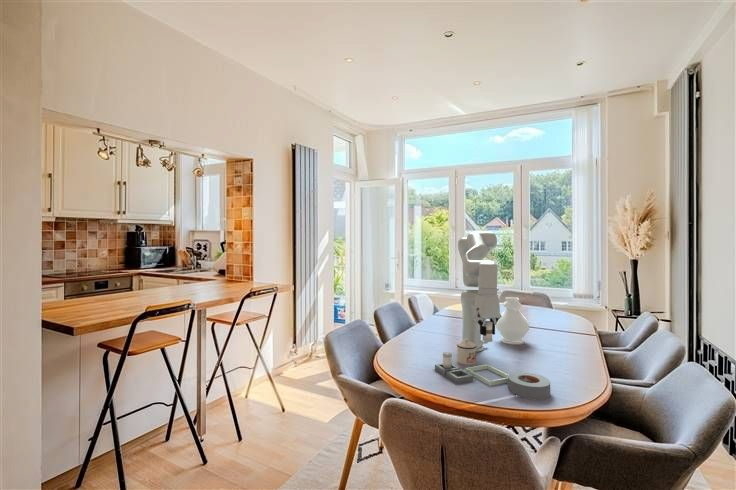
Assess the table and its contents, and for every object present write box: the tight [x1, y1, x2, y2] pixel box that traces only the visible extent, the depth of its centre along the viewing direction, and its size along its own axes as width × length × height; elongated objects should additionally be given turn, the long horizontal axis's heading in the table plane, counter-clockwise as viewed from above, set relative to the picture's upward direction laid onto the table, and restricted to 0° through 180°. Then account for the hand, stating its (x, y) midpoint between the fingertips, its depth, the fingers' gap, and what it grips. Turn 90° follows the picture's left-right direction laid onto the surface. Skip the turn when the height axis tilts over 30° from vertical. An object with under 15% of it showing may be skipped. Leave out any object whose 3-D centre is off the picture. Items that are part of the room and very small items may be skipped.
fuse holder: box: [432, 362, 476, 386], centre depth 155 cm, size 18×10×3 cm, turn 22°
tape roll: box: [507, 371, 551, 401], centre depth 141 cm, size 15×15×5 cm
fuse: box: [442, 351, 453, 369], centre depth 160 cm, size 4×4×8 cm
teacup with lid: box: [456, 339, 477, 366], centre depth 173 cm, size 12×9×12 cm
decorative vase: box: [495, 296, 530, 345], centre depth 207 cm, size 18×18×25 cm
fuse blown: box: [482, 320, 493, 343], centre depth 153 cm, size 4×4×8 cm
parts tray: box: [464, 363, 509, 387], centre depth 154 cm, size 12×16×2 cm
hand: (487, 333), depth 153 cm, fingers closed on fuse blown, 3 cm apart
